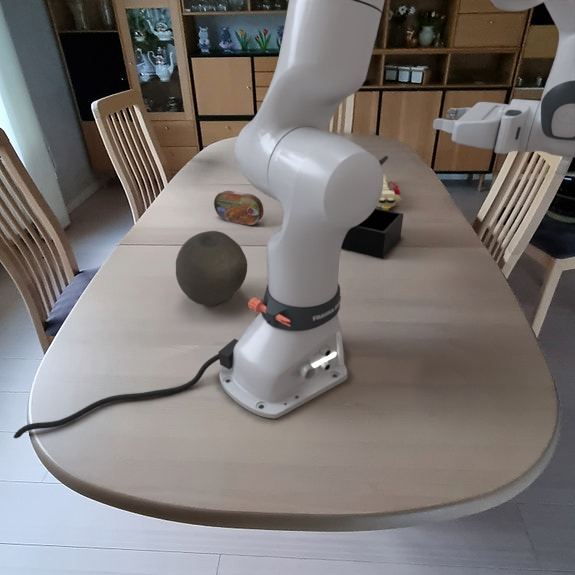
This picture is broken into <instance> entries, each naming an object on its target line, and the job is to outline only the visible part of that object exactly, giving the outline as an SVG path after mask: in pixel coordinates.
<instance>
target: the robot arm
mask: <svg viewBox="0 0 575 575" xmlns="http://www.w3.org/2000/svg"><path fill="white" fill-rule="evenodd" d="M385 1H386V0H288V5H287V11H286V17H285V22H284V27H283V33H282V38H281V44H280V49H279V53H278V59H277V63H276V67H275V70H274V73H273V76H272V79H271V81H270V84H269V87H268V89H267V91H266V93H265V96H264V97H263V98H264V99H263V100H262V103H261V104H260V107H259V109H258V111H257V113H256V114H255V116H254V117H253V118H252V120H250V121H249V122H248V123H247V124H245V126H244V127H243V128H242V129H241V130H240V132H239V133H238V136H237V138H236V140H235V144H234V161H235V163H236V166H237V168H238V170H239V172H240V173H241V174H242V175H243V177H244V178H245V179H246V180H247V181H248V183H249V184H251V186H252V187H254V188H255V189H256V190H257V191H259V192H261V193H262V194H264V195H266V196H268V197H269V198H272V199H273V200H275V201H277V202H278V203H279V205H280V208H281V209H282V215H283V216H282V217H283V218H282V224H281V229H280V230H278V231H277V232H276V233H274V234H272V236H271V237H270V239H269V240H268V242H267V244H266V247H265V248H266V250H265V252H266V253H265V254H266V268H267V269H266V270H267V285H266V288H265V291H264V295H263V299H262V300H261V299H259V298H258V297H256V296H254V297H252V298H251V299H249V301H248V308H249V309H250V310H252V311H254V312H255V313H257V316H256V317H255V319H254V320H253V321H252V322H251V323H250V325H249V327H248V328H247V329H246V331H245V332H244V333H243V334H242V336H241V337H240V338H239V339H237V338H233V339H232V340H231V341H230V342H229V343H227V344H226V345H225V346H223V347H222V348H221V349H220V350H218V352H217V354H215V355H214V356H212V357H210V358H209V359H208V360H206V361H205V362H204V363H203V364H202V366H200V368H199V370H198V371H197V373H196V375H195V376H194V377H193V378H192V379H191V380H189V381H188V382H186V383H184V384H181V385H179V386H176V387H170V388H165V389H163V388H162V389H156V390H151V391H145V392H136V393H124V394H116V395H111V396H107V397H104V398H102V399H99V400H96V401H94V402H92V403H90V404H89V405H87V406H85V407H83V408H81V409H79V410H78V411H76V412H75V413H72V414H70V415H68V416H66V417H63V418H62V419H57V420H53V421H44V422H32V423H28V424H26V425H24V426H22V427H21V428H19V429H18V430H17V431H16V432H15V433H14V434H13V439H19V438H20V437H22V436H23V435H24V434H25V433H27V432H29V431H33V430H41V429H42V430H43V429H53V428H57V427H61V426H64V425H66V424H67V425H68V424H69V423H71V422H74V421H75V420H77V419H79V418H81V417H82V416H84V415H87V413H89V412H91V411H93V410H94V409H96V408H99V407H101V406H104V405H106V404H109V403H114V402H118V401H128V400H139V399H147V398H152V397H159V396H160V397H161V396H164V395H165V396H166V395H172V394H177V393H180V392H183V391H185V390H188V389H190V388H191V387H193V386H194V385H196V384H197V383H198V382H199V381H200V380H201V378H202V377H203V375H204V373H205V372H206V370H207V369H208V368H209V367H210V366H211V365H213V364H214V363H216V362H217V361H219V365H220V366H222V368H221V369H220V370H219V374H218V375H219V382H220V385H221V387H222V388H223V390H224V391H225V393H226V394H227V395H228V396H229V397H230V398H231V399H232V400H233V401H234V402H235V403H237V404H238V405H239V406H241V407H242V408H244V409H245V410H247V411H248V412H250V413H252V414H254V415H257V416H259V417H263V418H267V419H272V420H273V419H274V420H275V419H278V418H281V417H282V416H284V415H286V414H288V413H289V412H291V411H293V410H295V409H297V408H299V407H301V406H302V405H304V404H306V403H308V402H309V401H311V400H313V399H315V398H317V397H318V396H320V395H322V394H324V393H326V392H327V391H329V390H331V389H333V388H335V387H336V386H338V385H341V383H344V382H345V381H347V379H348V377H349V376H348V369H347V367H346V366H347V365H346V364H345V350H344V346H343V335H342V329H341V324H340V320H339V311H340V307H341V301H342V300H341V299H342V297H341V286H340V284H339V272H340V260H341V259H340V258H341V251H342V249H341V246H342V243H343V240H344V238H345V236H346V234H347V232H348V231H349V230H350V229H351V228H352V227H355V226H357V225H358V224H360V223H362V222H363V221H364V220H365V219H367V218H368V217H369V216H370V215H371V213H372V212H373V211H374V209H375V208H377V204H378V202H379V200H380V197H381V194H382V190H383V175H384V172H383V171H384V170H383V167H382V166H381V165H380V163H379V161H380V160H378V158H377V157H376V156H375V155H373V154H372V153H371V152H369V151H368V150H367V149H366V148H364V147H362V146H361V145H360V144H358V143H357V142H356V141H354V140H352V139H350V138H348V137H345V136H342V135H339V134H336V133H333V132H330V131H328V128H329V126H330V123H331V121H332V119H333V117H334V115H335V113H336V112H337V110H338V108H339V107H340V106H341V104H342V103H343V102H344V101H345V100H346V99H347V98H348V97H350V96H352V95H354V94H355V93H357V92H358V91H359V90H360V89H361V87H363V85H364V83H365V82H366V80H367V77H368V71H369V67H370V64H371V60H372V55H373V51H374V47H375V43H376V38H377V34H378V30H379V27H380V22H381V18H382V14H383V10H384V6H385ZM489 2H490V3H492V5H493V6H494V7H495V8H496V9H498V10H501V11H505V12H521V11H527V10H529V9H532V8H534V7H537V6H540V5H541V4H544V5H545V8H546V10H547V12H548V13H549V15H550V17H551V20H552V21H553V22H554V25H555V26H556V28H557V31H558V44H557V48H556V54H555V57H554V60H553V63H552V65H551V68H550V71H549V74H548V77H547V80H546V82H545V85H544V88H543V91H542V94H541V98H540V100H535V99H520V98H519V99H518V98H513V99H512V100H511V101H510V103H509V104H508V103H507V104H506V103H498V102H490V101H479V102H477V103H476V104H474V105H473V106H472V107H459V108H457V107H450V108H448V109H447V111H446V115H445V117H446V118H444V117H437V118H435V119H434V120H433V123H432V128H433V130H440V131H443V132H444V133H448V134H451V141H452V142H454V143H455V144H458V145H462V146H468V147H472V148H477V149H482V150H483V149H484V150H493V149H494V150H493V152H494V153H495V154H498V155H499V154H501V155H506V154H509V153H511V152H522V153H523V152H524V153H533V152H541V153H546V154H549V155H551V156H557V157H565V158H575V0H489Z"/></svg>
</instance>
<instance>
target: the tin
mask: <svg viewBox="0 0 575 575" xmlns="http://www.w3.org/2000/svg"><path fill="white" fill-rule="evenodd" d="M213 207H214V210H215V212H216V214H217V215H218V217H219V218H220V219H222V220H223V221H225V222H230V223H235V224H240V225H244V226H253V225H256V224H257V223H258V222H260V221H261V220H262V219H263V216H264V204H263V203H262V201H261V200H260V198H259V197H258V196H256V195H254V194H252V193H246V192H239V191H233V190H225V191H222V192H218V194H216V195H215V198H214V201H213Z"/></svg>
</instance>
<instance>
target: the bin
mask: <svg viewBox="0 0 575 575" xmlns="http://www.w3.org/2000/svg"><path fill="white" fill-rule="evenodd" d="M403 222H404V213H403V212H398V211H393V210H383V208H379V207H376V208H375V209H374V211H373V212H372V213H371V215H370V216H369V217H368V218H367V219H365V220H364V221H363V222H362V223H360V224H358V225H357V226H355V227H352V228H351V229H350V230H349V231H348V232H347V234H346V236H345V238H344V240H343V243H342V246H341V250H345V251H348V252H353V253H357V254H361V255H364V256H368V257H374V258H377V259H381V260H383V259H384V258H385V257H386V256H387V255H388V253H390V251H391V250H392V249H393V248H394V246H395V245H396V244H397V243H398V242H399V240H401V238H402V231H403V230H402V229H403Z"/></svg>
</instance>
